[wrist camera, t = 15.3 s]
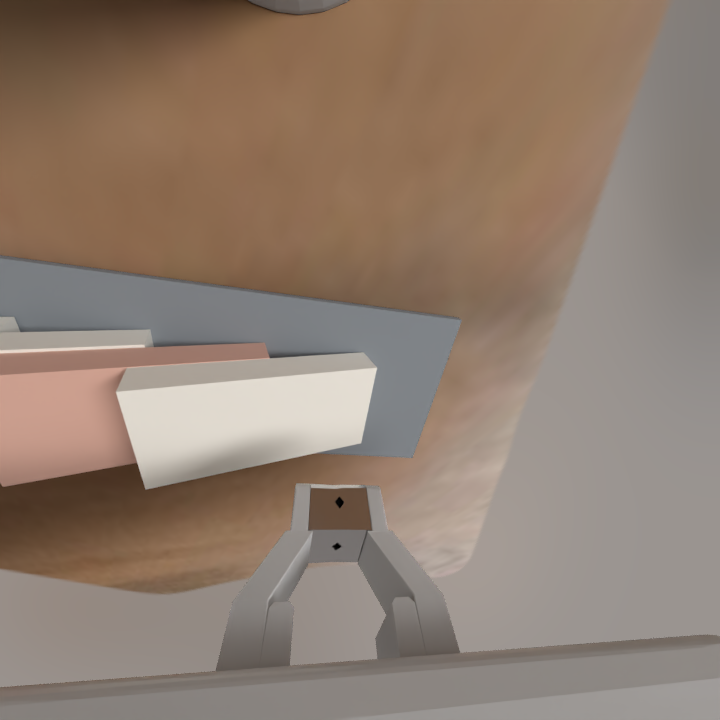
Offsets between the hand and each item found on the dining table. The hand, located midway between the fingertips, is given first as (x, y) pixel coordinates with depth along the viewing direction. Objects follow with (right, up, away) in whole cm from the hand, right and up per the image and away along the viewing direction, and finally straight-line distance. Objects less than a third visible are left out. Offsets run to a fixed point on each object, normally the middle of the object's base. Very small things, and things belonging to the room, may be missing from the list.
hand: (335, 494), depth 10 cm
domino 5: (+1, +3, +5) cm, 6 cm away
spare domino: (-4, +3, +5) cm, 7 cm away
